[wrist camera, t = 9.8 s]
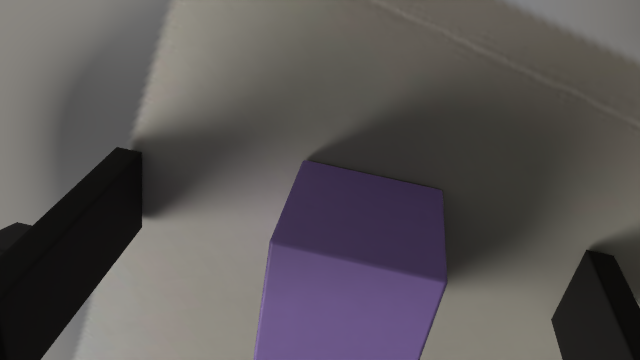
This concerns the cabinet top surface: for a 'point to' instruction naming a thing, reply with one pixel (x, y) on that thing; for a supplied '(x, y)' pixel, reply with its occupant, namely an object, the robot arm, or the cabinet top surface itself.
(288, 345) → the purple cube
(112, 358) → the cabinet top surface
